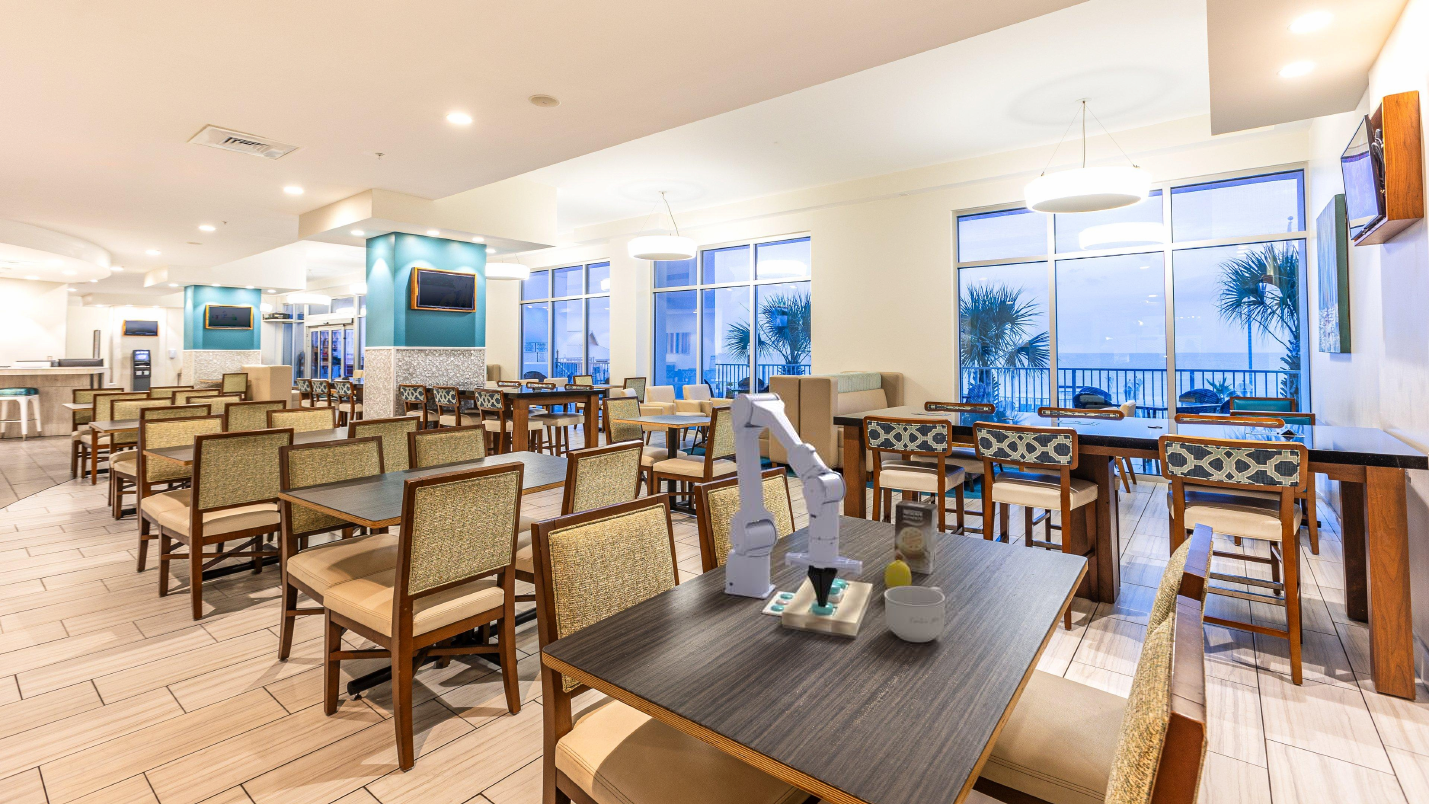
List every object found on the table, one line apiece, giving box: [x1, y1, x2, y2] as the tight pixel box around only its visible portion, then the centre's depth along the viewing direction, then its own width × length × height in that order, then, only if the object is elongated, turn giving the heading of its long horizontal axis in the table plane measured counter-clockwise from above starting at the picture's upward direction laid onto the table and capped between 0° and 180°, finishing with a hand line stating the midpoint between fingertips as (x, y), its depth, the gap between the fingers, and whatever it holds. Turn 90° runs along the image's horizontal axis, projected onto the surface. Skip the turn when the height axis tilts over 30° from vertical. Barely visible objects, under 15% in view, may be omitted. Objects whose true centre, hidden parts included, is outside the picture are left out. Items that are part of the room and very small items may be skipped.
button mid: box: [828, 582, 843, 603], centre depth 128 cm, size 4×4×3 cm
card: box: [762, 591, 796, 617], centre depth 132 cm, size 5×12×1 cm, turn 158°
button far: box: [833, 577, 849, 591], centre depth 135 cm, size 4×4×3 cm
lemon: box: [884, 560, 912, 590], centre depth 137 cm, size 6×6×8 cm
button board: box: [781, 576, 874, 640], centre depth 128 cm, size 14×22×3 cm, turn 158°
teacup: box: [883, 585, 946, 643], centre depth 118 cm, size 14×11×8 cm
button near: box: [810, 601, 836, 616], centre depth 122 cm, size 4×4×3 cm
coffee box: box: [893, 499, 939, 575], centre depth 155 cm, size 9×6×16 cm
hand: (822, 605), depth 122 cm, fingers closed
